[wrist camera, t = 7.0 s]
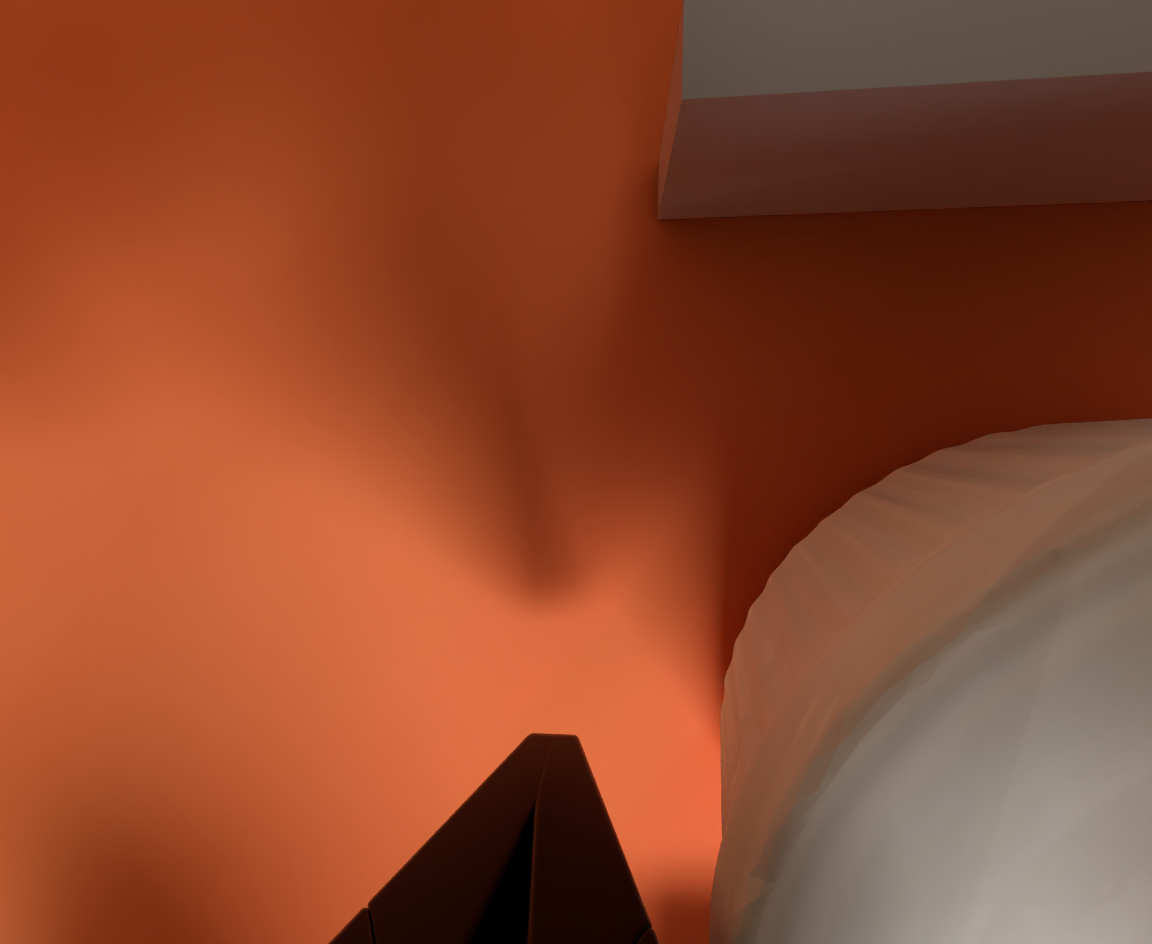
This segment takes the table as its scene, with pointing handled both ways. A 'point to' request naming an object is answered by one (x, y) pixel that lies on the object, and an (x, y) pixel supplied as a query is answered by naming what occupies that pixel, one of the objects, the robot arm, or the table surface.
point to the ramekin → (952, 707)
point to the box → (905, 106)
